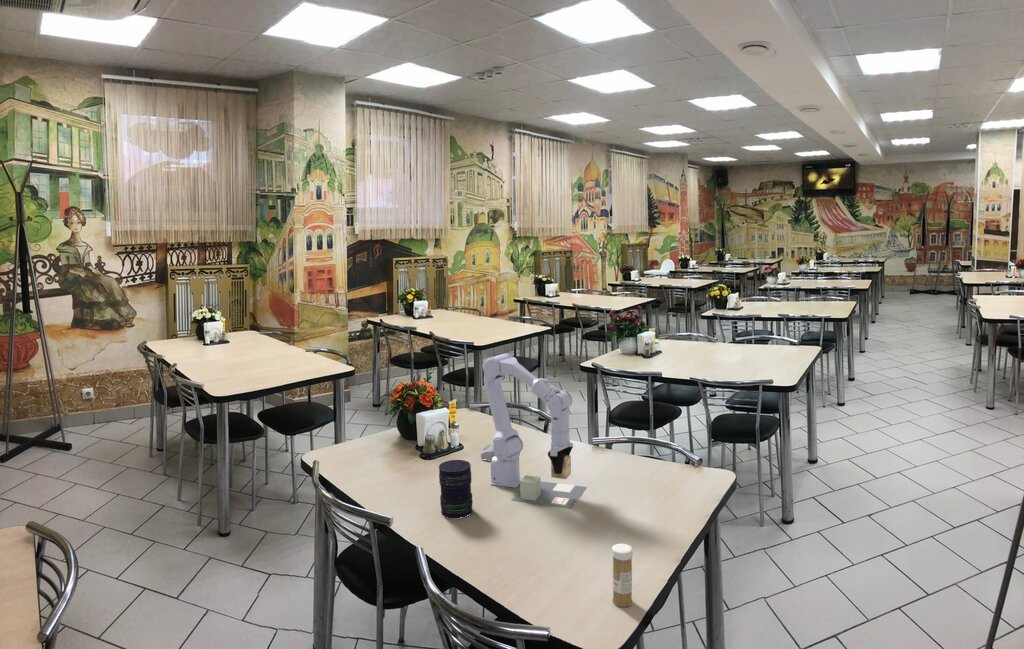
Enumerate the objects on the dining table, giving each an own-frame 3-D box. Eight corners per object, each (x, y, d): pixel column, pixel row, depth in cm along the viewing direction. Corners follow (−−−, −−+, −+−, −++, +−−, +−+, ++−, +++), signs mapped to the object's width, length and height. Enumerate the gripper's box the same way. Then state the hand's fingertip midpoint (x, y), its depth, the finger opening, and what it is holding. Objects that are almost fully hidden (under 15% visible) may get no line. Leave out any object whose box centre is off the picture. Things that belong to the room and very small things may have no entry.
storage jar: (447, 521, 191) (445, 474, 188) (436, 509, 199) (433, 463, 197) (478, 514, 195) (476, 467, 193) (465, 502, 204) (463, 457, 202)
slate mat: (511, 500, 204) (511, 499, 204) (529, 480, 220) (529, 479, 220) (571, 508, 197) (571, 508, 197) (586, 487, 213) (586, 486, 212)
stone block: (480, 466, 240) (506, 461, 238) (477, 453, 240) (503, 449, 238) (487, 456, 251) (511, 451, 249) (484, 444, 251) (509, 440, 249)
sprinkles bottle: (609, 598, 149) (609, 544, 147) (628, 595, 150) (628, 541, 148) (616, 609, 145) (616, 553, 143) (635, 606, 146) (635, 551, 143)
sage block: (520, 498, 205) (520, 481, 204) (526, 492, 209) (525, 475, 208) (535, 500, 203) (534, 482, 202) (540, 494, 207) (540, 477, 207)
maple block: (551, 477, 204) (551, 459, 203) (556, 471, 209) (556, 454, 208) (566, 479, 202) (566, 461, 201) (571, 473, 207) (570, 455, 206)
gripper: (565, 437, 195) (566, 480, 197) (578, 423, 208) (579, 463, 210) (543, 435, 198) (544, 477, 200) (558, 421, 211) (558, 461, 213)
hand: (560, 470), depth 205 cm, fingers closed on maple block, 5 cm apart
